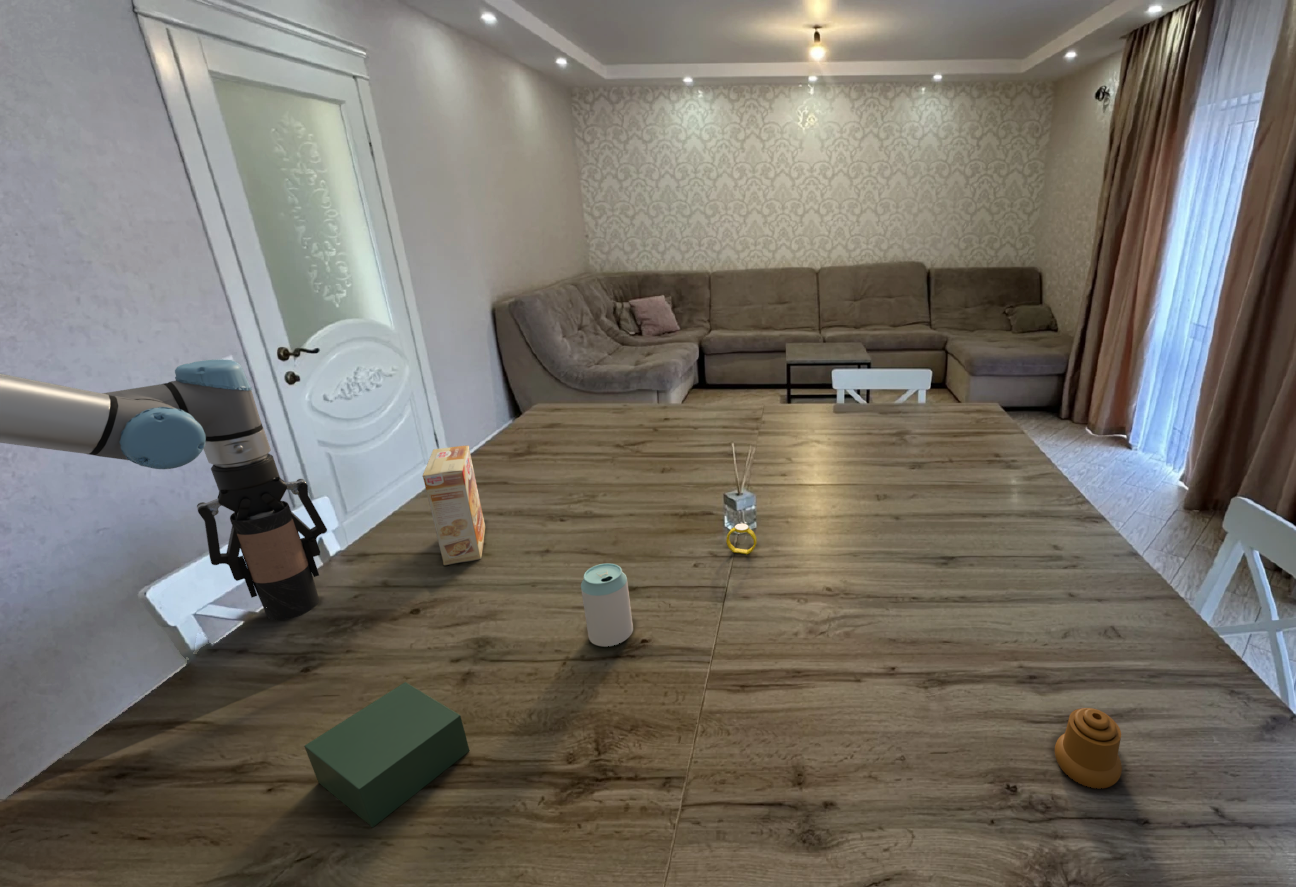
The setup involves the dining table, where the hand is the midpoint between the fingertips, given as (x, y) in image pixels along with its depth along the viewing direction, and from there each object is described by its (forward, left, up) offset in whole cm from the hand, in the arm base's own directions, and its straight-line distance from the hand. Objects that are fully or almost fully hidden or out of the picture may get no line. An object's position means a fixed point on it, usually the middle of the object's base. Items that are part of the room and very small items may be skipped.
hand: (285, 583), depth 103 cm
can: (+35, -45, -6) cm, 57 cm away
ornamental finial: (+63, -110, -6) cm, 127 cm away
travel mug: (0, 0, -6) cm, 6 cm away
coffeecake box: (+29, +3, -6) cm, 30 cm away
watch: (+67, -41, -6) cm, 79 cm away
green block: (+3, -48, -6) cm, 49 cm away
